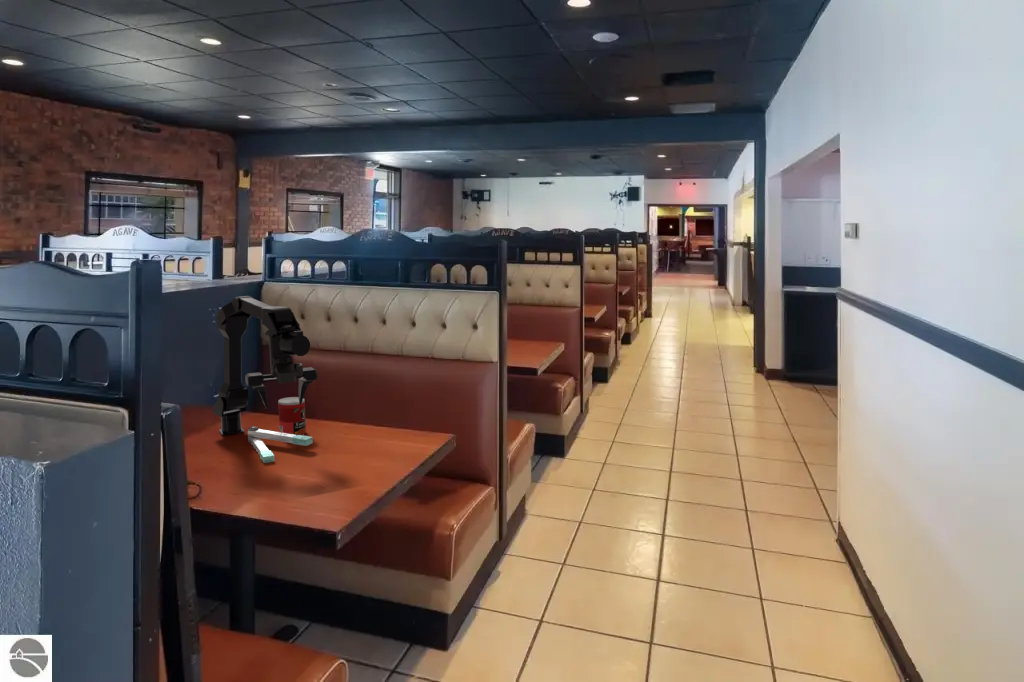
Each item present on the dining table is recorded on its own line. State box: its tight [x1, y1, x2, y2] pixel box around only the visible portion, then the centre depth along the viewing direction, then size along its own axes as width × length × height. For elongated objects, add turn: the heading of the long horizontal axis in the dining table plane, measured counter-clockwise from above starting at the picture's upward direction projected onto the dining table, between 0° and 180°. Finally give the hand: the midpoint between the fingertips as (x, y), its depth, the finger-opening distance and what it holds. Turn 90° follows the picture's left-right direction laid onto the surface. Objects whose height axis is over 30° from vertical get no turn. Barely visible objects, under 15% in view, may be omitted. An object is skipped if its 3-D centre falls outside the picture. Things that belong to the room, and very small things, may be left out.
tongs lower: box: [247, 436, 276, 464], centre depth 185 cm, size 23×3×2 cm, turn 33°
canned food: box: [277, 396, 307, 436], centre depth 200 cm, size 8×8×11 cm
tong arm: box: [247, 425, 314, 447], centre depth 189 cm, size 23×3×2 cm, turn 68°
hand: (283, 406), depth 182 cm, fingers open, 9 cm apart
